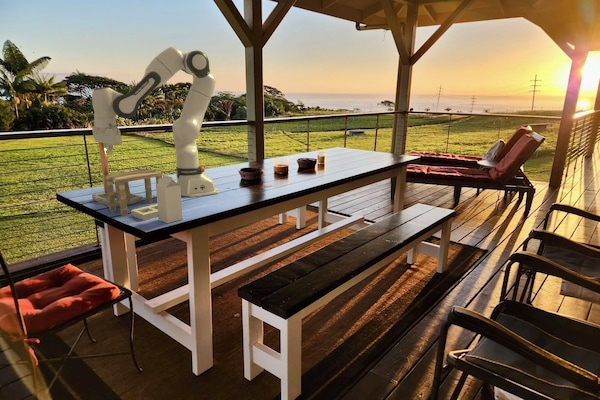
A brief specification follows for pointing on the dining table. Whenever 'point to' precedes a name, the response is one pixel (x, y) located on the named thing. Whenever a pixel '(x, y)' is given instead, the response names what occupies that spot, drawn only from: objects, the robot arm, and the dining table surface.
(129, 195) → the carving
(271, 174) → the dining table surface
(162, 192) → the milk carton
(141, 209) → the pit deck
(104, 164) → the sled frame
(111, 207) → the tunnel
